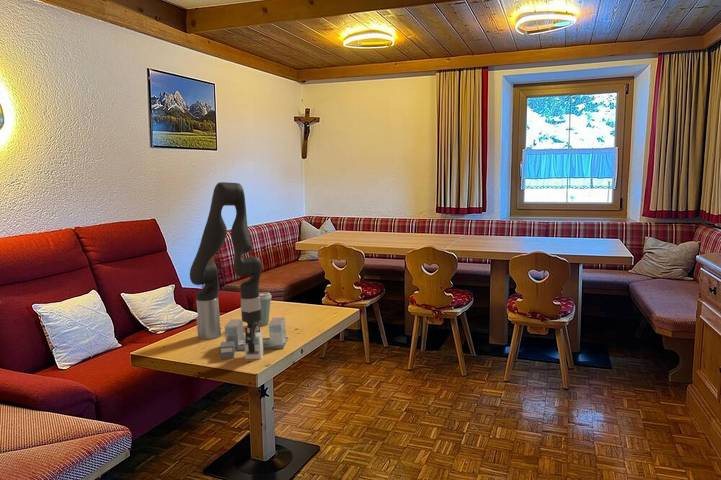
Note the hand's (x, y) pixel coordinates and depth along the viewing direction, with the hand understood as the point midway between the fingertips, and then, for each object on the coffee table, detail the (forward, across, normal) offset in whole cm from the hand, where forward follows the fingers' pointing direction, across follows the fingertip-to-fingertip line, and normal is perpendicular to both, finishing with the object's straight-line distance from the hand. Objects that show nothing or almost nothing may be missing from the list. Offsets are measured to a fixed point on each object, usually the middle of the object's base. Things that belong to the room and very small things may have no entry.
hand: (254, 348), depth 210 cm
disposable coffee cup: (+3, -45, -6) cm, 46 cm away
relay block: (+3, -2, -11) cm, 12 cm away
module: (+3, 0, 0) cm, 3 cm away
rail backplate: (+3, -14, -2) cm, 14 cm away
